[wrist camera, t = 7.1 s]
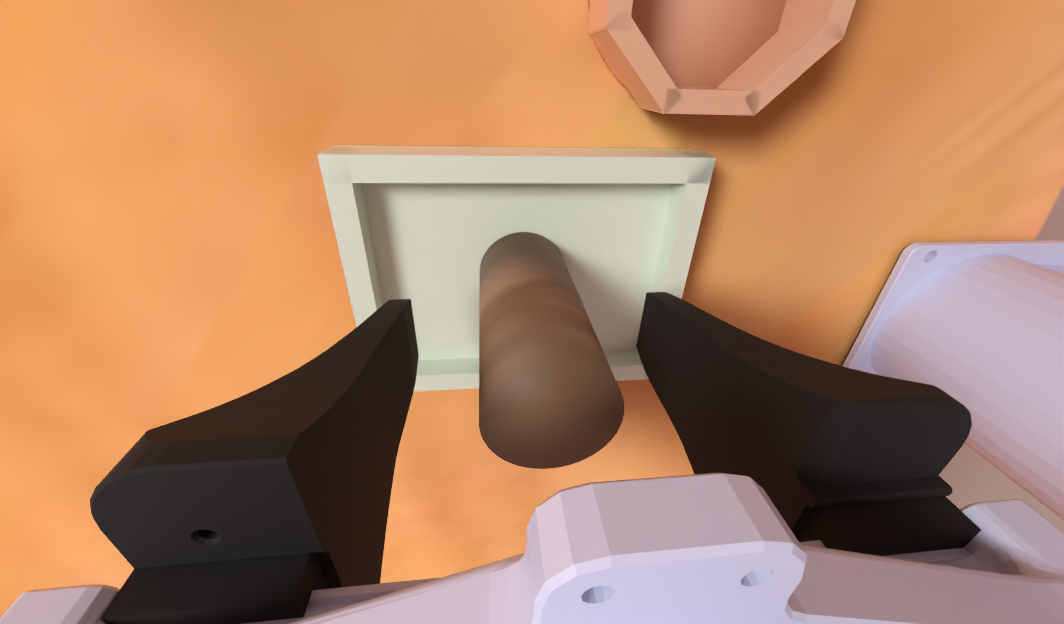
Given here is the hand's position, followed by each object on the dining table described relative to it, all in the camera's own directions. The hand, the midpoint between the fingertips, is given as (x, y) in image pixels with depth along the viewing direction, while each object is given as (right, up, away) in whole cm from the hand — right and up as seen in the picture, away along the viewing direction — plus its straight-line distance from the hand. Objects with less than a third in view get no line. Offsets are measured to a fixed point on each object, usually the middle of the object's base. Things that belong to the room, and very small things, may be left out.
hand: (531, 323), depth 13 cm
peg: (0, +2, +3) cm, 3 cm away
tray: (0, +2, +3) cm, 4 cm away
